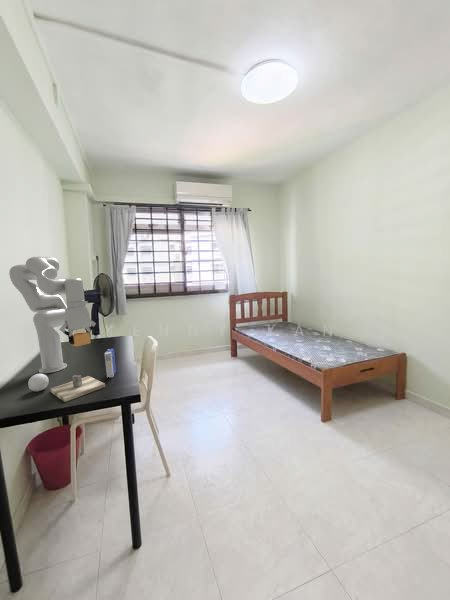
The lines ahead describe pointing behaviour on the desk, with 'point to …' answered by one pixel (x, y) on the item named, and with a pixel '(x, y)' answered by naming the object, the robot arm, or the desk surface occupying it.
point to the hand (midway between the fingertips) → (80, 341)
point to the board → (77, 387)
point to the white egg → (38, 382)
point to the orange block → (81, 338)
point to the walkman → (110, 362)
